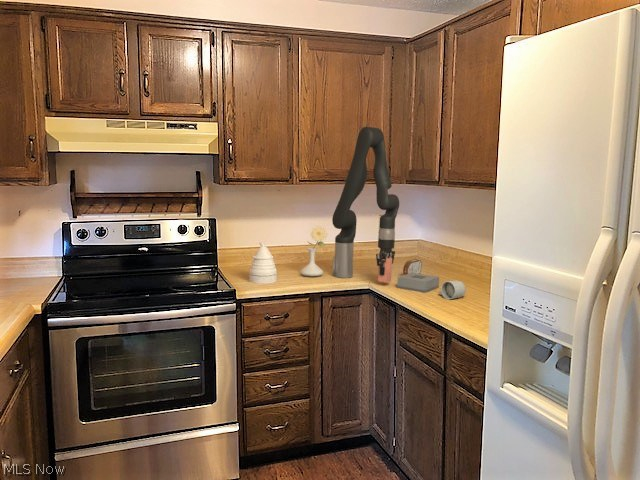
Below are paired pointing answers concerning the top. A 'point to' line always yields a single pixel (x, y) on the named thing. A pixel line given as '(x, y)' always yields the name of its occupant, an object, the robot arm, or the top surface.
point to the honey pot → (263, 267)
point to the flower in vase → (312, 268)
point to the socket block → (418, 282)
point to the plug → (386, 271)
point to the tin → (412, 266)
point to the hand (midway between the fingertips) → (384, 274)
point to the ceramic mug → (452, 289)
